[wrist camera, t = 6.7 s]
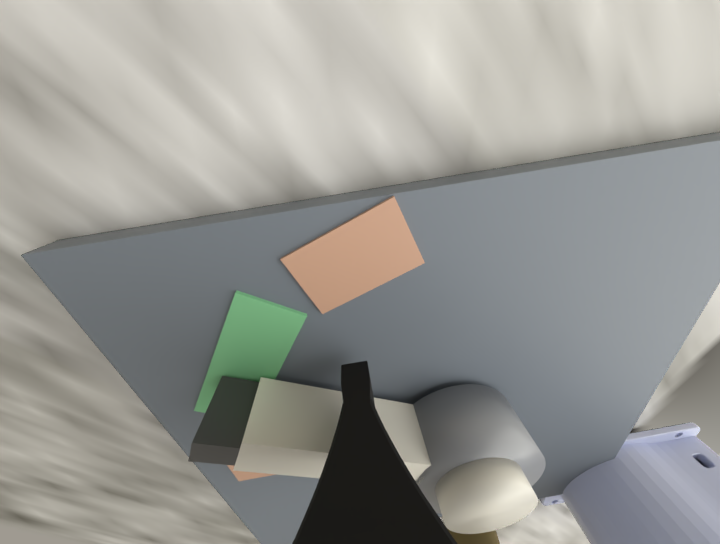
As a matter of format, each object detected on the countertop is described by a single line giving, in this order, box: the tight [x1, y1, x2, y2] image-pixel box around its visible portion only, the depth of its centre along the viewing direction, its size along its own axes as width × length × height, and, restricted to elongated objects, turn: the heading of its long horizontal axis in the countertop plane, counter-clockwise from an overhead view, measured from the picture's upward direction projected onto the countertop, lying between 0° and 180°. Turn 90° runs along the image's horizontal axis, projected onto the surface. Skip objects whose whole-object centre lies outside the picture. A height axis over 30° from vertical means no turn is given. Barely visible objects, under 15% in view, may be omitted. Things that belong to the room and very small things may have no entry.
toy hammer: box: [189, 376, 546, 534], centre depth 11 cm, size 14×6×4 cm, turn 68°
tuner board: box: [21, 132, 720, 544], centre depth 14 cm, size 24×23×1 cm
